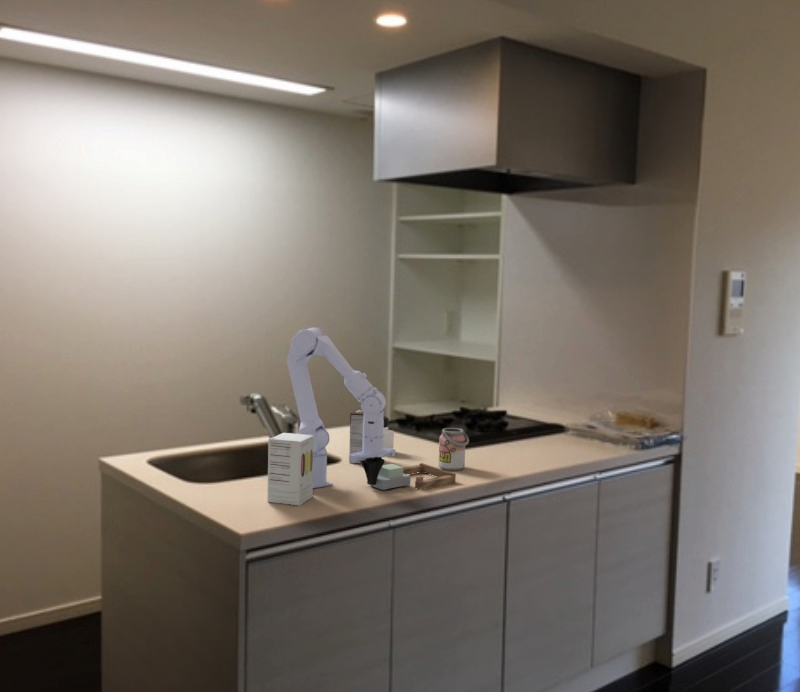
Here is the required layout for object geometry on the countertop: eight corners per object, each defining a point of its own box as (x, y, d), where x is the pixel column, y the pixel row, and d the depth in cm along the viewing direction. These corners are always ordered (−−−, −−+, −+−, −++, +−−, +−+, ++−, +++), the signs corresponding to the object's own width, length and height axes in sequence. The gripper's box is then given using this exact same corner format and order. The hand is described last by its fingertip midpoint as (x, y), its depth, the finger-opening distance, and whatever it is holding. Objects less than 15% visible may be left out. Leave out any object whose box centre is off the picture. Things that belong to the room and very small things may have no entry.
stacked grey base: (382, 491, 220) (382, 472, 220) (367, 485, 226) (367, 466, 225) (410, 486, 226) (410, 467, 226) (394, 480, 232) (395, 462, 231)
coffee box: (356, 456, 260) (357, 407, 258) (375, 458, 259) (376, 409, 257) (348, 463, 251) (349, 412, 249) (368, 464, 250) (369, 414, 248)
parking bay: (419, 490, 223) (420, 477, 222) (384, 477, 235) (384, 465, 235) (456, 482, 232) (456, 470, 231) (420, 470, 244) (421, 459, 244)
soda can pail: (472, 469, 248) (474, 431, 246) (453, 473, 242) (455, 434, 241) (451, 463, 254) (453, 426, 253) (432, 467, 249) (433, 429, 248)
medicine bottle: (377, 448, 273) (378, 413, 272) (393, 451, 268) (394, 416, 267) (363, 451, 267) (364, 416, 266) (379, 455, 263) (380, 419, 262)
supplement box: (299, 506, 205) (300, 441, 203) (266, 502, 207) (267, 438, 205) (313, 496, 214) (314, 434, 212) (281, 492, 216) (282, 431, 215)
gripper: (360, 441, 213) (359, 491, 214) (402, 435, 222) (401, 483, 224) (345, 437, 219) (343, 485, 220) (386, 431, 228) (385, 478, 229)
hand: (371, 484), depth 222 cm, fingers closed
